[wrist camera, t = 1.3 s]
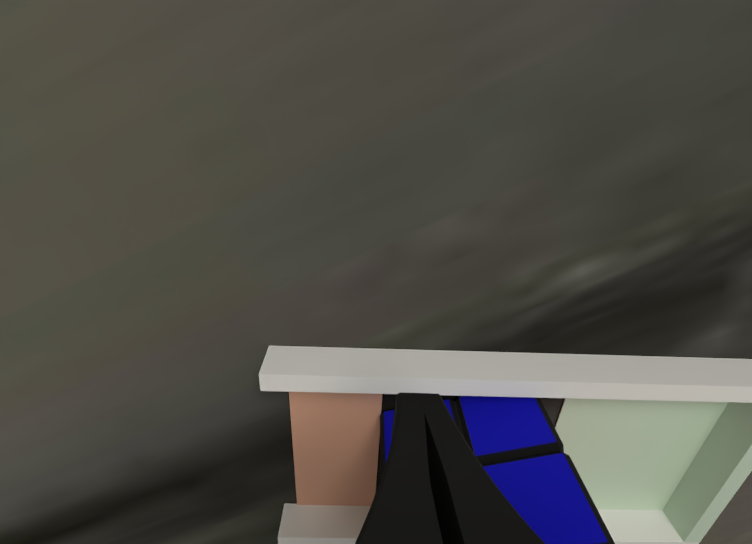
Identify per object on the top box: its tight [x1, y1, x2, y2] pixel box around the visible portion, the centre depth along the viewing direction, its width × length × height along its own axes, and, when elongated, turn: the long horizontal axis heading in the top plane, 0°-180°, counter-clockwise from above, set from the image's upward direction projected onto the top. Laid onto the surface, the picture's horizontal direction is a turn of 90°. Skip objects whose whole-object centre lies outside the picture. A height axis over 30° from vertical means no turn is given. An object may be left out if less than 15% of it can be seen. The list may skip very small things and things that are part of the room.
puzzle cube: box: [380, 396, 615, 544], centre depth 23 cm, size 10×10×10 cm
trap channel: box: [259, 346, 752, 544], centre depth 27 cm, size 16×31×2 cm, turn 87°
